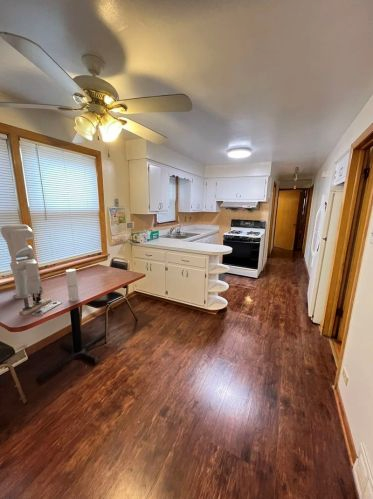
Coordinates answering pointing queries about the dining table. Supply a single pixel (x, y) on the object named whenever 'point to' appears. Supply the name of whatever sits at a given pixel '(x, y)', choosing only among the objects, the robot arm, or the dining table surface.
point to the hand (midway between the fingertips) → (37, 300)
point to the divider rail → (32, 306)
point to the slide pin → (36, 301)
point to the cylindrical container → (72, 284)
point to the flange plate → (46, 308)
